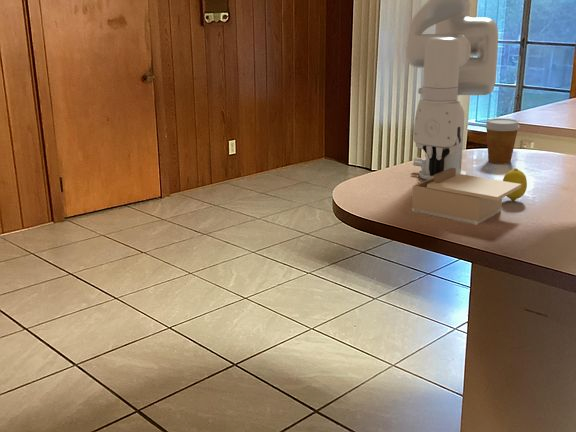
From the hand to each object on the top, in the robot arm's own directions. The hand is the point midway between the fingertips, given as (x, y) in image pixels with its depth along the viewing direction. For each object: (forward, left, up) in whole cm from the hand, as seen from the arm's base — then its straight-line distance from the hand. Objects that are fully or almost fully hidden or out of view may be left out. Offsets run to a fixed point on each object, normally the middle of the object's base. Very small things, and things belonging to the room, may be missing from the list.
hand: (436, 174), depth 151 cm
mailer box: (+5, 0, -8) cm, 9 cm away
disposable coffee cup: (-7, +50, -8) cm, 51 cm away
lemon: (+12, +15, -8) cm, 21 cm away
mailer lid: (+9, 0, -1) cm, 10 cm away
